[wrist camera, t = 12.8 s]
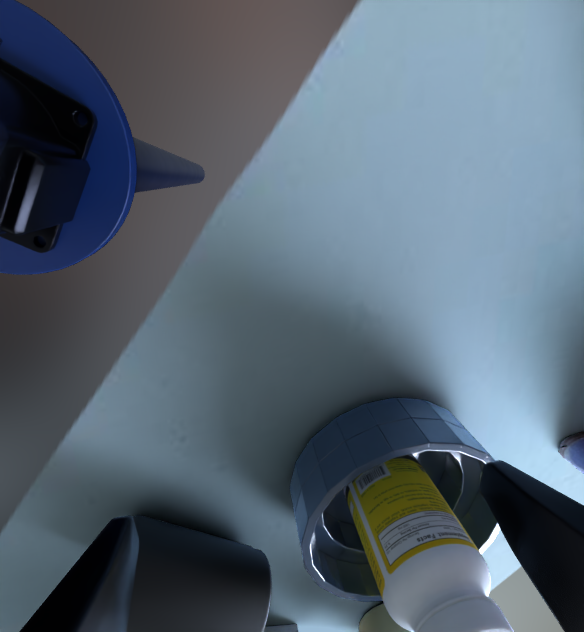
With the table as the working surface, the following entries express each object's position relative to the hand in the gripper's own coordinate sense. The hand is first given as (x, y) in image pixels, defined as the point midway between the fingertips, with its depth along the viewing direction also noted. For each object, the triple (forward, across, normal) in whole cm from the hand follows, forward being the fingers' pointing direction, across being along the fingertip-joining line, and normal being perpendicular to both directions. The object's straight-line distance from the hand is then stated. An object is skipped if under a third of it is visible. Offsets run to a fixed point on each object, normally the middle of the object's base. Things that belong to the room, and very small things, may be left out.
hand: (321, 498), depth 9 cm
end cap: (+13, +7, +18) cm, 23 cm away
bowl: (+13, -8, +14) cm, 21 cm away
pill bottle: (+13, -8, +14) cm, 20 cm away
